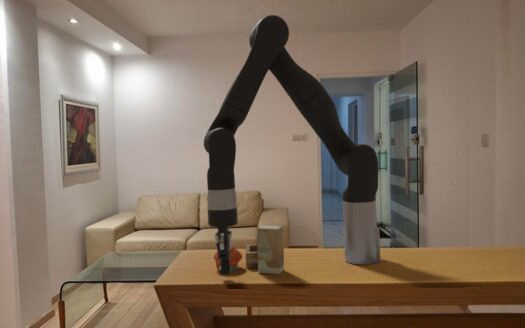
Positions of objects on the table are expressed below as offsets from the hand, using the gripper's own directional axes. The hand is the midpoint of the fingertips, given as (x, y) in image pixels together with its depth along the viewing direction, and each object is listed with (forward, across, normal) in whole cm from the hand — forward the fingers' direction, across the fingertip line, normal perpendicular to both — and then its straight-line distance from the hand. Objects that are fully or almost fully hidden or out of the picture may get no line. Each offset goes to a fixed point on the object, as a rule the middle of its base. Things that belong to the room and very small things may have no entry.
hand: (225, 273), depth 99 cm
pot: (+2, +10, 0) cm, 10 cm away
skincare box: (+2, +5, -12) cm, 13 cm away
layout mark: (+2, +10, 0) cm, 10 cm away
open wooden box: (+2, +14, -9) cm, 17 cm away
